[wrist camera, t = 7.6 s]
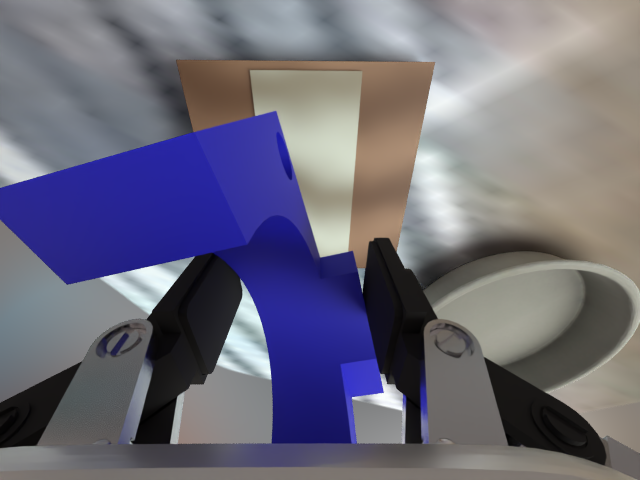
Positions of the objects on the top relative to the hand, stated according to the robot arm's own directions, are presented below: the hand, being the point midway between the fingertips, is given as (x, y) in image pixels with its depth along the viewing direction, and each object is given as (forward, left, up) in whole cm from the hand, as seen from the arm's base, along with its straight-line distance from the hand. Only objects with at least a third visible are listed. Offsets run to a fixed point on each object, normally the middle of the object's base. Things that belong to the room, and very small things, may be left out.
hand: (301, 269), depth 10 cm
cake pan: (+18, +22, -13) cm, 31 cm away
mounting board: (0, 0, -12) cm, 12 cm away
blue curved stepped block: (0, 0, -1) cm, 1 cm away
